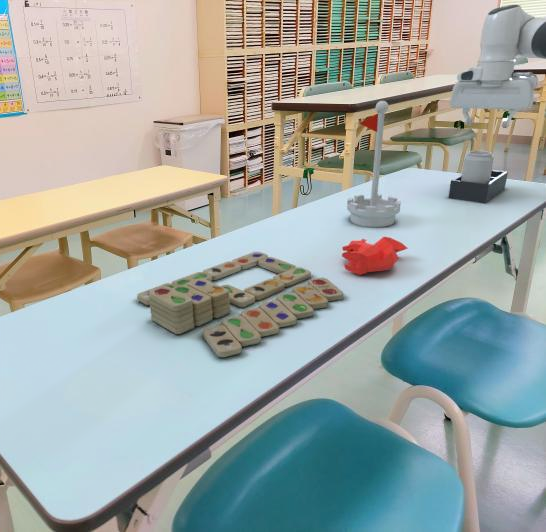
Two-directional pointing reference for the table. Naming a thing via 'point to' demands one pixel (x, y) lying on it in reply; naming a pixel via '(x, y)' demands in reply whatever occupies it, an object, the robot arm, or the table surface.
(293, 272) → the pile of dominoes
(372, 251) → the animal figurine
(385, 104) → the flag stand
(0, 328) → the table surface
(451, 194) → the dark grey divided tray
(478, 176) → the can
